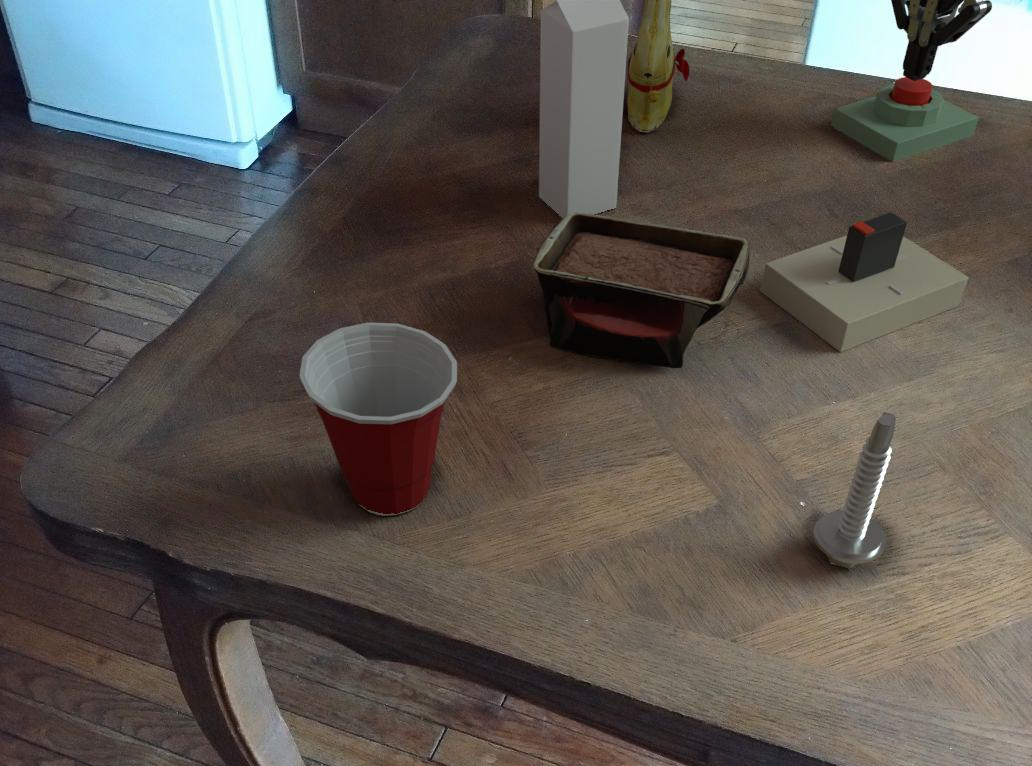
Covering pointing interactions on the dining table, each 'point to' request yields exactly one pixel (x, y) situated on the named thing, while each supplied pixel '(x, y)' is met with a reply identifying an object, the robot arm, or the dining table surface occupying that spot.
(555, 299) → the baking dish
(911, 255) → the panel
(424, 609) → the dining table surface
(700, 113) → the dining table surface
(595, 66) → the milk
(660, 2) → the chocolate bunny
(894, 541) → the dining table surface
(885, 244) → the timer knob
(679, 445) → the dining table surface
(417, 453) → the plastic cup
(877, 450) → the screw
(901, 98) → the power button
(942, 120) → the button block
